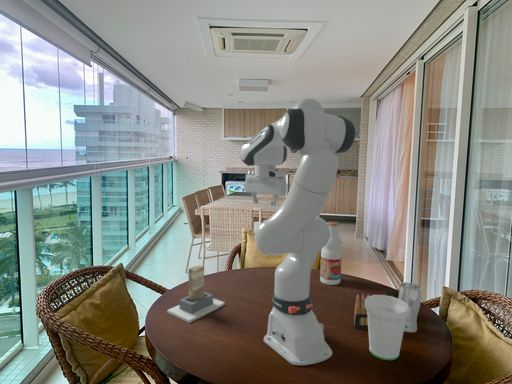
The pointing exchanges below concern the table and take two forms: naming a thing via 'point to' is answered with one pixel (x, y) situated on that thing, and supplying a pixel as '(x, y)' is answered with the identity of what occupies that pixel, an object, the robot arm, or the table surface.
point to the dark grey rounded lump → (392, 293)
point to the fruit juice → (331, 257)
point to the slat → (196, 283)
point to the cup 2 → (386, 325)
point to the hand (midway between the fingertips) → (264, 204)
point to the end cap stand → (195, 307)
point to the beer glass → (410, 303)
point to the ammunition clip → (360, 314)
